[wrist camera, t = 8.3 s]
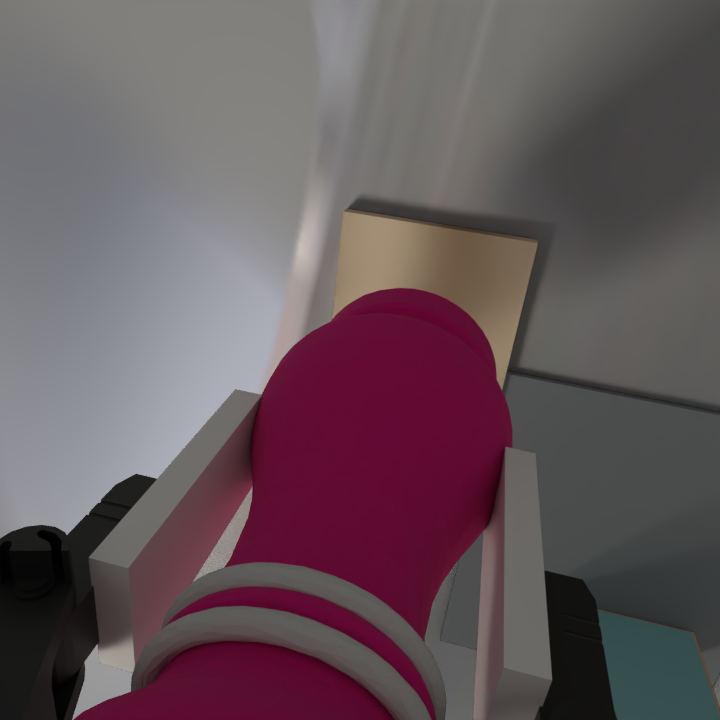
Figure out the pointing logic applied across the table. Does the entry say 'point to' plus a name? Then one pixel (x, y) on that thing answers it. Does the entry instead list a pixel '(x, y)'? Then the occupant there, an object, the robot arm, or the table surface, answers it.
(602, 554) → the mat
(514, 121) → the table surface
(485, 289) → the cork pad
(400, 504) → the pepper mill
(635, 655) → the tile
